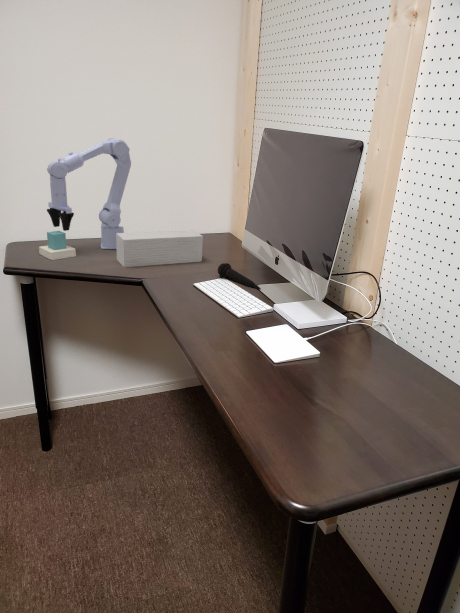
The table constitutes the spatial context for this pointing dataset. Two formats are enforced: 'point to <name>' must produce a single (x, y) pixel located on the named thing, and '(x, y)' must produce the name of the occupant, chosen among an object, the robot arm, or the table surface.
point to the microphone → (235, 275)
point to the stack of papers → (158, 247)
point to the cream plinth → (57, 252)
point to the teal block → (56, 240)
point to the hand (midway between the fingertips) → (61, 228)
